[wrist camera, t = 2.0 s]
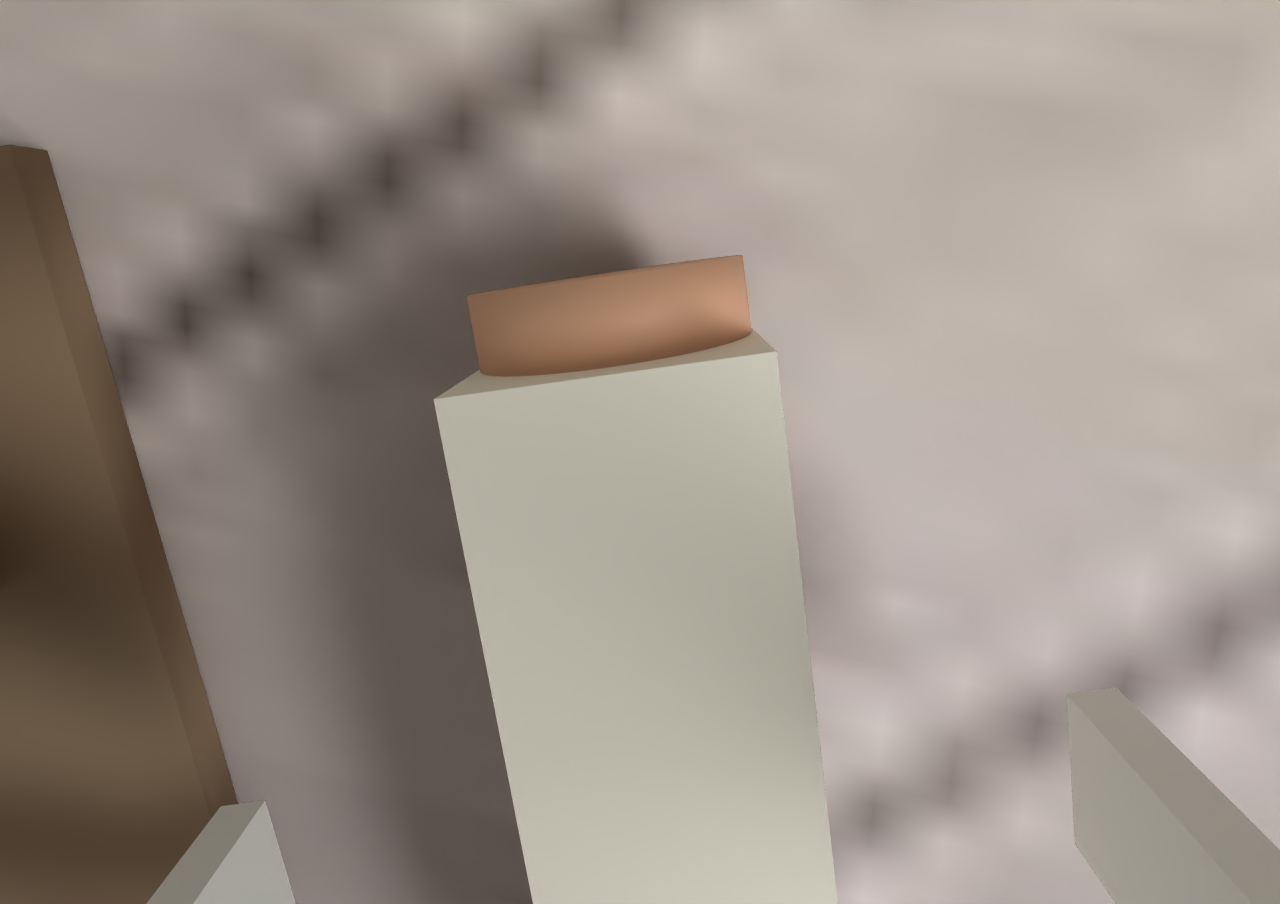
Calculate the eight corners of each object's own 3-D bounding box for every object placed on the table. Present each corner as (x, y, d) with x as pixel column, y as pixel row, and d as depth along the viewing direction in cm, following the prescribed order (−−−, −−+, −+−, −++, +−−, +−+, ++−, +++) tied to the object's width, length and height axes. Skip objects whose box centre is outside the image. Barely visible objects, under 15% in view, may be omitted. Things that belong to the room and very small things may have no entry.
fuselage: (820, 1003, 21) (923, 1506, 12) (629, 1021, 21) (605, 1526, 13) (731, 253, 17) (794, 258, 9) (500, 287, 17) (347, 323, 9)
